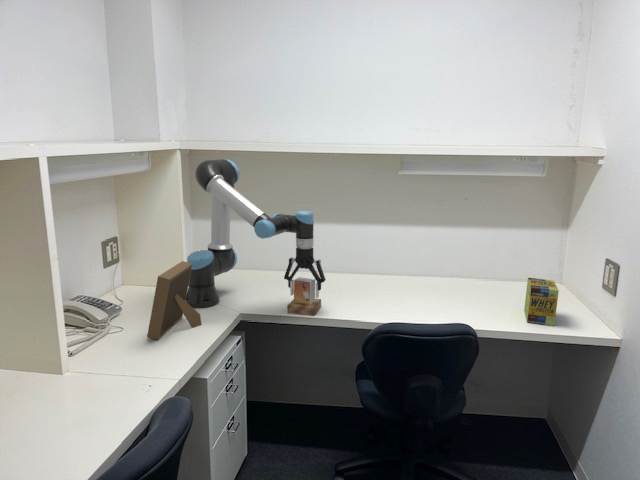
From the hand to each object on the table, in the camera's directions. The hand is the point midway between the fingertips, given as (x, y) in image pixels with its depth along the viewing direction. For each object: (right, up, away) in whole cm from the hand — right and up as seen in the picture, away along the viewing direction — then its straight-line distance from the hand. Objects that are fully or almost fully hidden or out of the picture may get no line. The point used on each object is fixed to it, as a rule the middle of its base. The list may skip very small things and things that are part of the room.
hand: (304, 295), depth 199 cm
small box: (0, -3, +1) cm, 3 cm away
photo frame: (-49, -11, -20) cm, 54 cm away
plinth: (0, -7, +1) cm, 7 cm away
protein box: (+100, -9, -6) cm, 101 cm away
